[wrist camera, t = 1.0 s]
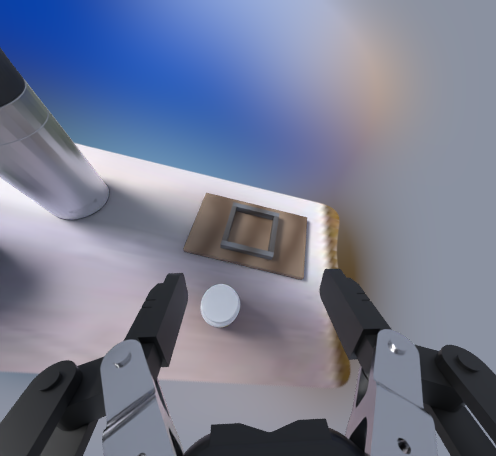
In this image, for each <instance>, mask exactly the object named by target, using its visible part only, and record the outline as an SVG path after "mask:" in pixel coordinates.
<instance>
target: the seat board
mask: <svg viewBox="0 0 496 456" xmlns="http://www.w3.org/2000/svg"><path fill="white" fill-rule="evenodd" d="M306 229H307V217H303V216H299V215H295V214H291V213H287V212H283V211H279V210H275V209H271V208H266V207H262V206H258V205H254V204H250V203H246V202H242V201H238V200H234V199H230V198H226V197H222V196H218V195H214V194H209V193H206V195H205V197H204V200H203V202H202V204H201V207H200V209H199V212H198V214H197V217H196V219H195V221H194V224H193V226H192V229H191V231H190V234H189V236H188V239H187V241H186V243H185V246H184V248H183V250H184V251H185V252H189V253H193V254H197V255H201V256H205V257H210V258H214V259H218V260H222V261H226V262H230V263H234V264H238V265H243V266H247V267H251V268H255V269H259V270H263V271H267V272H272V273H276V274H280V275H284V276H288V277H292V278H296V279H300V280H302V279H303V278H304V262H305V245H306Z"/></svg>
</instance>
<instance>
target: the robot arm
mask: <svg viewBox="0 0 496 456" xmlns="http://www.w3.org/2000/svg"><path fill="white" fill-rule="evenodd" d="M0 177H1V178H2V179H3V180H5V181H6V182H8V183H9V184H11V185H12V186H13V187H15V188H16V189H18V190H19V191H21V192H22V193H23V194H25V195H26V196H28V197H29V198H31V199H32V200H33V201H35V202H36V203H37V204H39V205H40V206H42V207H43V208H45V209H46V210H48V211H49V212H50V213H52V214H53V215H55V216H57V217H59V218H62V219H80V218H83V217H87V216H89V215H91V214H93V213H95V212H96V211H98V210H99V209H100V208H102V207H103V205H104V204H105V203H106V201H107V199H108V197H109V189H108V187H107V185H106V184H105V183H104V181H103V180H102V179H101V177H100V176H99V175H98V173H97V172H96V171H95V169H94V168H93V167H92V166H91V164H90V163H89V162H88V160H87V159H86V158H85V157H84V155H83V154H82V153H81V151H80V150H79V149H78V148H77V146H76V145H75V144H74V142H73V141H72V140H71V139H70V137H69V136H68V135H67V133H66V132H65V131H64V130H63V128H62V127H61V126H60V124H59V123H58V122H57V121H56V119H55V118H54V117H53V115H52V114H51V113H50V112H49V110H48V109H47V108H46V107H45V106H44V104H43V103H42V102H41V100H40V99H39V98H38V96H37V95H36V94H35V93H34V91H33V90H32V89H31V87H30V86H29V85H28V84H27V82H26V81H25V80H24V79H23V77H22V76H21V75H20V73H19V72H18V71H17V70H16V68H15V67H14V66H13V65H12V63H11V62H10V60H9V59H8V58H7V57H6V55H5V54H4V52H3V51H2V49H1V48H0ZM320 297H321V300H322V302H323V304H324V306H325V308H326V311H327V313H328V315H329V317H330V319H331V322H332V324H333V326H334V328H335V330H336V333H337V335H338V337H339V339H340V341H341V343H342V346H343V348H344V350H345V352H346V354H347V357H348V359H349V360H351V359H358V361H359V363H360V365H361V366H360V368H359V373H358V379H357V385H356V391H355V397H354V403H353V408H352V412H351V416H350V418H349V421H348V425H347V429H346V434H345V436H344V435H342V434H341V433H339V432H337V431H335V430H333V429H331V428H328V425H327V422H326V419H310V420H297V421H295V422H293V423H291V424H288V425H286V426H284V427H282V428H280V429H278V430H275V431H273V432H266V431H262V430H259V429H256V428H253V427H250V426H246V425H244V424H240V423H235V424H217V425H211V433H210V434H208V435H206V436H204V437H203V438H201V439H199V440H198V441H197V442H195V443H194V444H193V445H192V446H191V447H190V448H189V449H188V450H187V451H186V452H185V453H184V451H183V448H182V445H181V442H180V439H179V436H178V434H177V431H176V429H175V426H174V424H173V421H172V419H171V416H170V413H169V410H168V407H167V404H166V402H165V398H164V395H163V393H162V390H161V387H160V384H159V381H158V378H157V377H158V374H159V371H160V368H161V367H169V364H170V360H171V357H172V354H173V350H174V347H175V343H176V340H177V336H178V333H179V329H180V326H181V323H182V319H183V316H184V312H185V309H186V305H187V301H188V291H187V287H186V283H185V278H184V275H183V273H169V274H168V275H167V276H166V278H165V281H164V283H158V284H157V285H156V286H155V287H154V288H153V289H152V290H151V291H150V292H149V294H148V296H147V298H146V301H145V302H144V304H143V305H142V309H140V311H139V313H138V315H137V317H136V319H135V321H134V322H133V324H132V326H131V328H130V330H129V332H128V334H127V336H126V338H125V339H124V341H123V342H121V343H119V344H117V345H115V346H114V347H113V348H112V349H111V350H110V351H109V352H108V353H107V354H106V355H105V356H104V357H102V358H99V359H96V360H94V361H91V362H88V363H85V364H82V365H79V366H76V365H75V363H74V362H72V361H69V360H66V361H61V362H58V363H55V364H53V365H51V366H50V367H48V368H46V369H45V370H44V371H42V372H41V373H40V374H39V375H38V376H37V377H36V378H35V379H34V380H33V381H32V382H31V383H30V384H29V386H28V387H27V389H26V390H25V391H24V393H23V394H22V395H21V396H20V398H19V399H18V401H17V402H16V403H15V404H14V406H13V407H12V408H11V410H10V411H9V412H8V414H7V415H6V416H5V418H4V419H3V420H2V422H1V423H0V456H83V454H84V452H85V449H86V447H87V445H88V442H89V440H90V438H91V436H92V433H93V431H94V429H95V426H96V424H97V422H98V419H99V418H102V417H104V416H106V418H107V427H106V429H105V430H104V432H103V436H102V445H103V455H104V456H438V453H437V444H436V434H435V430H436V431H437V433H438V435H439V436H440V438H441V440H442V442H443V443H444V445H445V447H446V448H447V450H448V452H449V453H450V455H451V456H496V448H495V447H494V445H493V444H492V443H491V441H490V440H489V439H488V437H487V436H486V435H485V433H484V432H483V430H482V429H481V428H480V427H479V425H478V424H477V422H476V421H475V420H474V418H473V417H472V416H471V414H470V413H469V412H468V410H467V409H466V408H465V405H467V407H468V408H469V409H470V411H471V412H472V413H473V415H474V416H475V417H476V418H477V420H478V421H479V423H480V424H481V425H482V427H483V428H484V429H485V431H486V432H487V433H488V435H489V436H490V437H491V439H492V440H493V441H494V443H495V444H496V375H495V374H494V373H493V372H492V371H491V370H490V369H489V368H488V367H487V366H486V364H485V363H483V362H482V361H481V360H480V359H479V358H478V357H476V356H475V355H474V354H472V353H471V352H469V351H467V350H465V349H463V348H460V347H458V346H454V345H446V346H444V347H442V349H441V350H440V351H436V350H432V349H429V348H424V347H421V346H417V345H414V344H413V343H412V342H411V341H410V340H409V339H408V338H407V337H405V336H404V335H402V334H401V333H399V332H397V331H394V330H392V329H391V328H390V327H389V325H388V324H387V323H386V321H385V320H384V319H383V317H382V316H381V314H380V313H379V312H378V310H377V309H376V307H375V306H374V305H373V303H372V302H371V301H370V299H369V298H368V297H367V295H366V294H365V292H364V291H363V290H362V288H361V287H360V286H359V284H357V283H356V282H355V281H353V280H352V279H351V278H346V276H345V275H344V274H343V272H342V271H341V270H340V269H325V270H324V273H323V277H322V281H321V285H320Z"/></svg>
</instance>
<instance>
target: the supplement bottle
mask: <svg viewBox="0 0 496 456" xmlns="http://www.w3.org/2000/svg"><path fill="white" fill-rule="evenodd" d="M239 310H240V299H239V296H238V294H237V293H236V291H235V290H234V289H233V288H232V287H230V286H228V285H226V284H216V285H214V286H212V287H210V288H209V289H208V290H207V291H206V292H205V294H204V296H203V298H202V301H201V314H202V316H203V318H204V320H205V321H206V322H207V323H208V324H209V325H211V326H214V327H217V328H222V327H226V326H228V325H229V324H231V323H232V322H233V321H234V320H235V318H236V317H237V315H238V313H239Z"/></svg>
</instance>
